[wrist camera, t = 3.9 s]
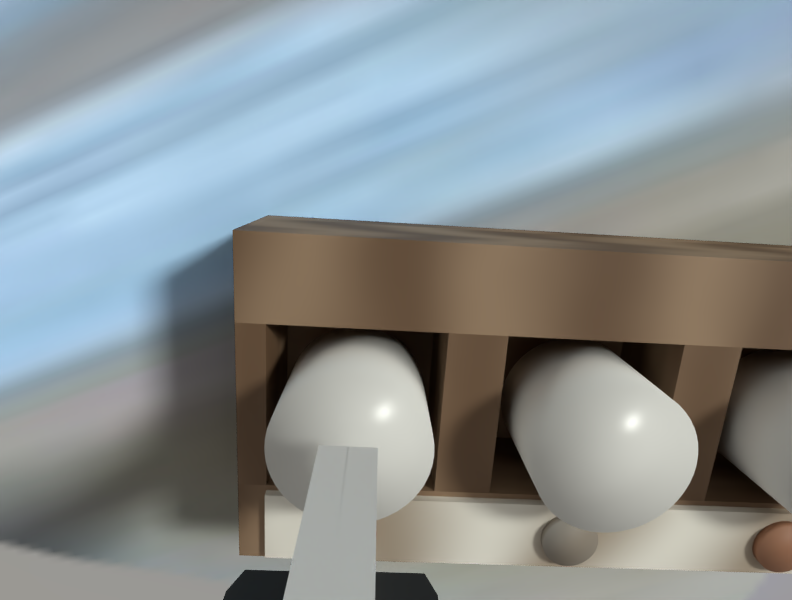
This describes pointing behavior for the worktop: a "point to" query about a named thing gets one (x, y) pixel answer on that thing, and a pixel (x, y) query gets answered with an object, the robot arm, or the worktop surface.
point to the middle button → (597, 436)
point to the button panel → (490, 365)
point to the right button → (762, 422)
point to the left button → (353, 415)
